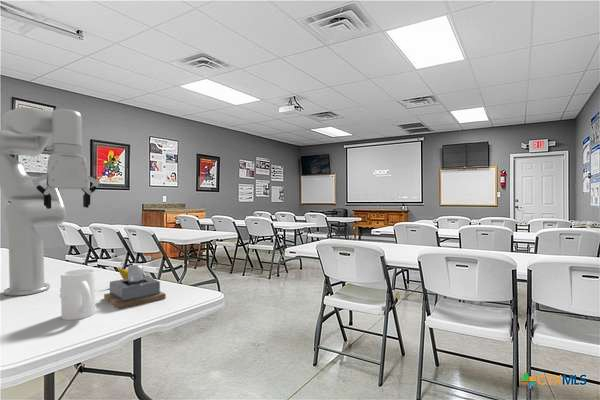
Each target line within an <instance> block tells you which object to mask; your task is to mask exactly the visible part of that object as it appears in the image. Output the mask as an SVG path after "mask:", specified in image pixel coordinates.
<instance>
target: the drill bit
mask: <svg viewBox="0 0 600 400" xmlns="http://www.w3.org/2000/svg"><path fill="white" fill-rule="evenodd" d="M116 269H117V270H118V272H119V274H120V276H121V278H122V280H123V279H128V269H123V268H120V267H116Z"/></svg>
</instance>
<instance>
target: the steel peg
mask: <svg viewBox="0 0 600 400" xmlns="http://www.w3.org/2000/svg"><path fill="white" fill-rule="evenodd" d="M127 267H128V268H127V270H128V285H133V284H139V283H143V276H144V264H131V265H130V264H129V265H128V266H127Z"/></svg>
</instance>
